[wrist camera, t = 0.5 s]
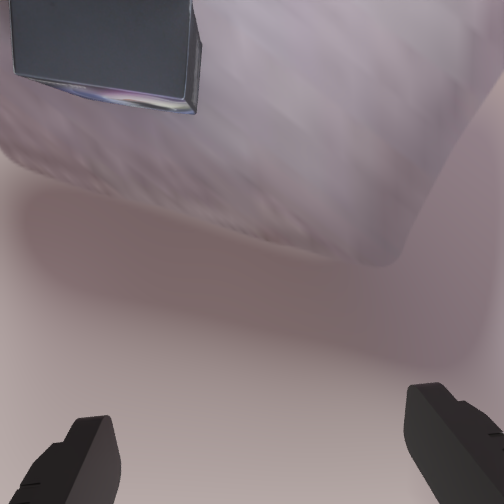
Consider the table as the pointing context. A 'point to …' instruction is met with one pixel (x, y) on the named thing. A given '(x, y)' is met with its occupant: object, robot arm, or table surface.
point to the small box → (111, 50)
